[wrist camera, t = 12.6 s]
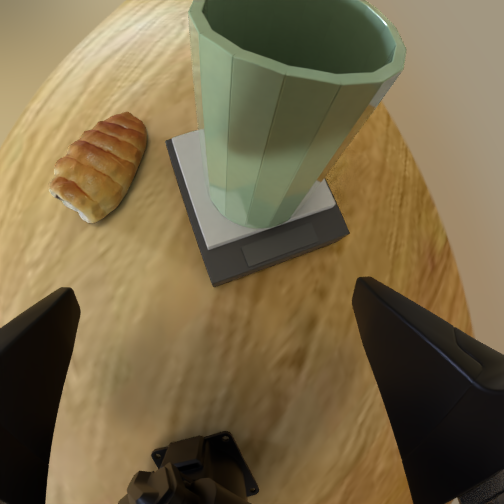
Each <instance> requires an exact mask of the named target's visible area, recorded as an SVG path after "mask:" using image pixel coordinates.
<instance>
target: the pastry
mask: <svg viewBox="0 0 504 504" xmlns="http://www.w3.org/2000/svg"><path fill="white" fill-rule="evenodd" d="M146 143H147V132H146V127H145V125H144V124H143V122H142V121H141V120H139V119H138V118H136V117H134V116H133V115H132V114H131V113H129V112H124V113H121V114H117V115H114V116H112V117H110V118H108V119H106V120H105V121H100V122H98V123H97V125H96V126H95V127H94V128H93V129H92V130H89V131H85V132H84V133H83V134H82V136H81V138H80V139H79V140H78V141H75V142H74V143H73V144H71V145H69V147H68V149H67V155H66V156H65V157H63V158H60V159H59V160H58V161H57V162H56V164H55V167H54V173H55V175H54V177H53V178H52V180H51V181H50V183H49V191H50V193H51V194H52V195H53V196H54V197H55V198H57V199H59V200H62V201H63V203H64V205H65V206H67V207H68V208H71V209H72V210H74V211H77V212H79V215H80V217H81V218H82V219H83V220H85V221H86V222H87V223H95V222H97V221H99V220H101V219H102V218H104V217H105V216H106V215H107V214H109V213H110V212H111V211H113V210H114V209H115V208H116V207H118V205H119V203H120V202H121V200H122V199H123V197H124V196H125V195H126V194H127V191H128V189H129V186H130V185H131V183H132V180H133V178H134V176H135V174H136V171H137V168H138V166H139V164H140V161H141V159H142V156H143V153H144V150H145V148H146Z"/></svg>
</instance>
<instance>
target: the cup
mask: <svg viewBox="0 0 504 504" xmlns="http://www.w3.org/2000/svg"><path fill="white" fill-rule="evenodd" d="M188 18H189V33H190V46H191V59H192V71H193V82H194V92H195V103H196V112H197V122H198V131H199V140H200V149H201V157H202V165H203V174H204V182H205V185H206V189H207V193H208V195H209V198H210V200H211V202H212V203H213V205H214V206H215V208H216V209H217V210H218V211H219V212H220V213H221V214H222V215H223V216H224V217H226V218H227V219H228V220H230V221H232V222H234V223H236V224H238V225H241V226H244V227H248V228H255V229H264V228H271V227H275V226H278V225H280V224H283V223H285V222H286V221H288V220H290V219H291V218H292V217H293V216H295V214H296V213H297V212H298V211H299V210H300V209H301V208H302V207H303V206H304V205H305V204H306V202H307V201H308V200H309V198H310V197H311V195H312V194H313V193H314V191H315V190H316V189H317V187H318V186H319V185H320V183H321V182H322V181H323V179H324V178H325V177H326V175H327V174H328V173H329V171H330V170H331V169H332V167H333V166H334V164H335V163H336V162H337V160H338V159H339V158H340V156H341V155H342V154H343V152H344V151H345V149H346V148H347V147H348V145H349V144H350V143H351V141H352V140H353V139H354V137H355V136H356V134H357V133H358V132H359V130H360V129H361V128H362V126H363V125H364V123H365V122H366V121H367V119H368V118H369V117H370V115H371V114H372V112H373V111H374V110H375V108H376V107H377V106H378V104H379V103H380V101H381V100H382V99H383V97H384V96H385V94H386V93H387V92H388V90H389V89H390V87H391V86H392V85H393V83H394V82H395V80H396V79H397V78H398V76H399V75H400V74H401V72H402V71H403V69H404V63H405V57H406V47H405V45H404V43H403V41H402V39H401V37H400V35H399V33H398V31H397V29H396V27H395V26H394V25H393V24H392V23H391V22H390V21H389V20H388V19H387V18H386V17H385V16H384V15H383V14H382V13H381V12H380V11H379V10H378V9H377V8H376V7H374V6H373V5H372V4H370V3H369V2H367V1H365V0H193V2H192V4H191V6H190V9H189V11H188Z"/></svg>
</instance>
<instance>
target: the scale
mask: <svg viewBox="0 0 504 504" xmlns="http://www.w3.org/2000/svg"><path fill="white" fill-rule="evenodd" d="M165 143H166V146H167V149H168V153H169V156H170V159H171V163H172V166H173V169H174V172H175V176H176V179H177V182H178V185H179V188H180V192H181V195H182V198H183V201H184V204H185V207H186V210H187V213H188V216H189V219H190V222H191V225H192V228H193V231H194V234H195V237H196V240H197V243H198V246H199V249H200V252H201V255H202V257H203V260H204V263H205V266H206V269H207V272H208V274H209V277H210V280H211V283H212V285H213V287H216V286H218V285H221V284H224V283H227V282H230V281H232V280H235V279H238V278H241V277H243V276H246V275H249V274H252V273H254V272H257V271H260V270H262V269H265V268H268V267H271V266H273V265H276V264H279V263H281V262H284V261H287V260H289V259H292V258H295V257H297V256H300V255H303V254H305V253H308V252H311V251H313V250H316V249H319V248H321V247H324V246H326V245H329V244H332V243H334V242H337V241H339V240H340V239H342V238H343V237H345V236H346V235H348V234H349V233H350V232H349V230H348V228H347V225H346V223H345V221H344V219H343V216H342V214H341V212H340V210H339V207H338V205H337V203H336V201H335V198H334V196H333V194H332V192H331V190H330V188H329V186H328V183H327V181H326V179H325V178H324V179H323V181H322V182H321V183H320V185H319V186H318V187H317V189H316V190H315V191H314V193H313V194H312V195H311V197H310V198H309V200H308V201H307V202H306V204H305V205H304V206H303V207H302V208H301V209H300V210H299V211H298V212H297V213H296V214H295V216H293V217H292V218H291V219H290V220H288V221H286V222H285V223H283V224H280V225H278V226H275V227H271V228H264V229H255V228H248V227H244V226H241V225H238V224H236V223H234V222H232V221H230V220H228V219H227V218H226V217H224V216H223V215H222V214H221V213H220V212H219V211H218V210H217V209H216V208H215V206H214V205H213V203H212V202H211V200H210V198H209V195H208V193H207V189H206V185H205V182H204V174H203V165H202V157H201V149H200V140H199V131H198V130H196V131H193V132H189V133H186V134H183V135H180V136H177V137H174V138H172V139H169V140H166V141H165Z"/></svg>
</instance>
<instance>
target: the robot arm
mask: <svg viewBox="0 0 504 504" xmlns="http://www.w3.org/2000/svg"><path fill="white" fill-rule="evenodd" d="M352 306H353V310H354V313H355V317H356V321H357V324H358V328H359V332H360V336H361V340H362V343H363V346H364V349H365V352H366V355H367V357H368V360H369V363H370V365H371V368H372V371H373V374H374V376H375V379H376V382H377V385H378V388H379V390H380V393H381V396H382V399H383V402H384V405H385V408H386V411H387V414H388V417H389V420H390V423H391V426H392V429H393V433H394V436H395V439H396V442H397V446H398V449H399V452H400V456H401V459H402V463H403V467H404V470H405V474H406V477H407V481H408V485H409V489H410V492H411V496H412V500H413V504H445V503H447V502H449V501H451V500H453V499H455V498H458V501H459V504H504V355H503V354H501V353H499V352H497V351H495V350H494V349H492V348H490V347H488V346H486V345H485V344H483V343H481V342H479V341H477V340H476V339H474V338H472V337H471V336H469V335H467V334H466V333H464V332H462V331H461V330H459V329H458V328H456V327H453V325H451V324H449V323H448V322H446V321H445V320H443V319H441V318H440V317H438V316H436V315H435V314H433V313H431V312H430V311H428V310H426V309H425V308H423V307H421V306H420V305H418V304H416V303H415V302H413V301H411V300H410V299H408V298H406V297H405V296H403V295H401V294H400V293H398V292H396V291H394V290H393V289H391V288H389V287H388V286H386V285H384V284H382V283H381V282H379V281H377V280H375V279H374V278H372V277H359V278H358V279H357V281H356V284H355V289H354V293H353V297H352ZM80 313H81V312H80V306H79V304H78V301H77V299H76V296H75V294H74V291H73V290H72V288H69V287H61V288H59V289H57V290H56V291H54V292H53V293H51V294H50V295H48V296H47V297H45V298H44V299H42V300H41V301H39V302H38V303H36V304H35V305H33V306H32V307H30V308H29V309H27V310H26V311H24V312H23V313H21V314H20V315H19V316H17V317H16V318H14V319H13V320H11V321H10V322H9V323H7V324H6V325H4V326H3V327H2V328H0V504H45V501H46V487H47V477H48V468H49V465H48V464H49V459H50V452H51V445H52V439H53V433H54V428H55V423H56V418H57V413H58V408H59V403H60V399H61V395H62V391H63V386H64V382H65V379H66V375H67V371H68V367H69V364H70V360H71V356H72V352H73V348H74V343H75V337H76V333H77V328H78V323H79V319H80ZM224 436H228V437H229V438H228V439H227V440H225V439H223V437H224ZM156 454H159V455H160V456H161V457H158V456H156ZM151 456H152V459H153V460H154V462H155V464H156V466H157V467H158V469H159V470H157V471H156V472H154V471H152V472H146V471H139V472H138V473H136V474H135V475H134V476H133V478H132V480H131V482H130V484H129V486H128V488H127V493H128V494H127V495H125V496H124V497H123V498H122V499H121V500H120V501H119V502H118V504H251V503H249V502H248V501H247V497H249V496H252V495H255V494H257V493H258V492H259V487H258V485H257V483H256V481H255V479H254V477H253V476H252V474H251V472H250V470H249V468H248V466H247V464H246V462H245V460H244V458H243V456H242V454H241V452H240V450H239V448H238V446H237V444H236V442H235V440H234V438H233V436H232V434H231V433H230V432H228V431H223V432H220V433H216V434H213V435H210V436H206V437H203V436H196V437H192V438H189V439H185V440H181V441H177V442H173V443H170V445H169V446H168V447H164V448H159V449H155V450H154V451H153V452H152V455H151ZM252 488H254V489H255V490H250V489H252Z"/></svg>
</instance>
